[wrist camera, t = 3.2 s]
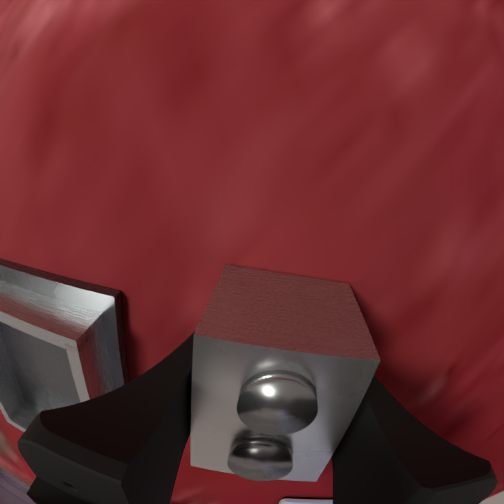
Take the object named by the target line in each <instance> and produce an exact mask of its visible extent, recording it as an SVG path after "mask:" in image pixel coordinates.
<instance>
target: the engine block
mask: <svg viewBox="0 0 504 504" xmlns="http://www.w3.org/2000/svg"><path fill="white" fill-rule="evenodd" d="M379 362H380V357H379V355H378V352H377V350H376V347H375V345H374V342H373V340H372V337H371V335H370V332H369V330H368V327H367V325H366V322H365V320H364V317H363V315H362V313H361V310H360V308H359V306H358V303H357V301H356V299H355V296H354V294H353V292H352V289H351V287H350V285H349V284H347V283H341V282H334V281H328V280H321V279H315V278H308V277H302V276H295V275H289V274H282V273H276V272H270V271H264V270H257V269H251V268H245V267H239V266H233V265H227V264H226V265H225V267H224V269H223V272H222V274H221V276H220V278H219V280H218V282H217V285H216V287H215V289H214V291H213V293H212V295H211V298H210V300H209V302H208V304H207V306H206V309H205V311H204V313H203V315H202V317H201V319H200V322H199V324H198V326H197V328H196V330H195V333H194V339H193V361H192V391H191V466H196V467H200V468H205V469H210V470H215V471H221V472H226V473H233V474H236V475H238V476H240V477H243V478H246V479H250V480H256V481H270V480H276V479H282V480H295V481H317V479H318V478H319V476H320V475H321V473H322V471H323V470H324V468H325V467H326V465H327V463H328V462H329V460H330V458H331V457H332V455H333V453H334V452H335V450H336V448H337V446H338V445H339V443H340V441H341V439H342V437H343V436H344V434H345V432H346V430H347V428H348V427H349V425H350V423H351V421H352V419H353V417H354V415H355V413H356V411H357V409H358V407H359V405H360V403H361V401H362V399H363V397H364V395H365V393H366V391H367V389H368V387H369V385H370V383H371V380H372V378H373V376H374V374H375V372H376V369H377V367H378V365H379Z"/></svg>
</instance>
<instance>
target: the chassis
mask: <svg viewBox="0 0 504 504" xmlns="http://www.w3.org/2000/svg"><path fill="white" fill-rule="evenodd" d="M127 383H129V376H128V368H127V360H126V351H125V341H124V330H123V318H122V303H121V291H120V290H115V289H111V288H107V287H103V286H99V285H94V284H90V283H86V282H82V281H78V280H75V279H71V278H67V277H63V276H59V275H56V274H52V273H48V272H44V271H41V270H37V269H34V268H30V267H27V266H23V265H20V264H16V263H13V262H10V261H6V260H3V259H0V409H1V411H2V413H3V415H4V417H5V418H6V420H7V422H8V423H10V424H12V425H13V426H15V427H16V428H18V429H20V430H21V431H23V432H25V431H26V429H27V428H28V426H29V425H30V424H31V422H32V421H33V420H34V418H35V417H36V416H37V415H38V414H39V413H40V412H41V411H45V410H50V409H55V408H60V407H65V406H70V405H74V404H77V403H81V402H84V401H87V400H90V399H93V398H96V397H99V396H101V395H104V394H106V393H108V392H110V391H113V390H115V389H117V388H119V387H121V386H123V385H125V384H127Z"/></svg>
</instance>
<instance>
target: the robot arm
mask: <svg viewBox="0 0 504 504" xmlns="http://www.w3.org/2000/svg"><path fill="white" fill-rule="evenodd" d="M194 333H195V332H193V333H192V334H191V335H190V336H189V337H188V338H187V339H186V340H185V341H184V342H183V343H182V344H181V345H180V346H179V347H178V348H176V349H175V350H174V351H173V352H172V353H170V354H169V355H168V356H167V357H166V358H164V359H163V360H162V361H161V362H159V363H158V364H156V365H155V366H154V367H152V368H151V369H149V370H148V371H147V372H145V373H144V374H142V375H140V376H139V377H137V378H136V379H134V380H132V381H130V382H129V383H127V384H125V385H123V386H121V387H119V388H117V389H115V390H113V391H110V392H108V393H106V394H104V395H101V396H99V397H96V398H93V399H90V400H87V401H84V402H81V403H77V404H74V405H70V406H65V407H60V408H55V409H50V410H45V411H41V412H40V413H39V414H38V415H37V416H36V417H35V418H34V420H33V421H32V422H31V424H30V425H29V426H28V428H27V429H26V431H25V432H24V433H23V435H22V436H21V438H20V439H19V440H18V442H17V443H18V448H19V451H20V453H21V455H22V456H23V458H24V459H25V461H26V462H27V464H28V465H29V466H30V468H31V469H32V471H33V472H34V473H35V475H36V476H37V477H36V479H35V480H34V482H33V483H32V485H31V487H30V486H28V485H27V484H25V483H23V482H22V481H20V480H18V479H17V478H15V477H14V476H12V475H11V474H9V473H8V472H6V471H5V470H4V469H2V468H1V467H0V504H170V500H171V496H172V492H173V488H174V484H175V480H176V476H177V472H178V469H179V465H180V461H181V458H182V454H183V451H184V448H185V445H186V443H187V440H188V438H189V435H190V433H191V391H192V361H193V339H194ZM332 464H333V500H317V499H290V498H285V499H282V500H280V502H279V504H479V503H480V502H481V501H483V500H484V499H485V498H486V497H487V496H488V495H489V494H490V493H491V492H492V491H493V490H494V488H495V487H496V485H497V481H498V480H497V478H496V476H495V473H494V471H493V469H492V466H491V464H490V462H489V461H487V460H485V459H482V458H480V457H478V456H475V455H473V454H471V453H468V452H466V451H464V450H462V449H460V448H458V447H457V446H455V445H453V444H451V443H449V442H448V441H446V440H445V439H443V438H441V437H440V436H438V435H437V434H436V433H434V432H433V431H431V430H430V429H428V428H427V427H426V426H424V425H423V424H422V423H421V422H420V421H418V420H417V419H416V418H415V417H414V416H412V415H411V414H410V413H409V412H408V411H407V410H406V409H405V408H404V407H403V406H402V405H401V404H400V403H399V402H398V401H397V400H396V399H395V398H394V397H393V396H392V395H391V394H390V393H389V392H388V391H387V389H386V388H385V387H384V386H383V385H382V384H381V383H380V381H379V380H378V379H377V378H376V377H375V375H374V376H373V378H372V380H371V383H370V385H369V387H368V389H367V391H366V393H365V395H364V397H363V399H362V401H361V403H360V405H359V407H358V409H357V411H356V413H355V415H354V417H353V419H352V421H351V423H350V425H349V427H348V428H347V430H346V432H345V434H344V436H343V437H342V439H341V441H340V443H339V445H338V446H337V448H336V450H335V452H334V453H333V455H332Z"/></svg>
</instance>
